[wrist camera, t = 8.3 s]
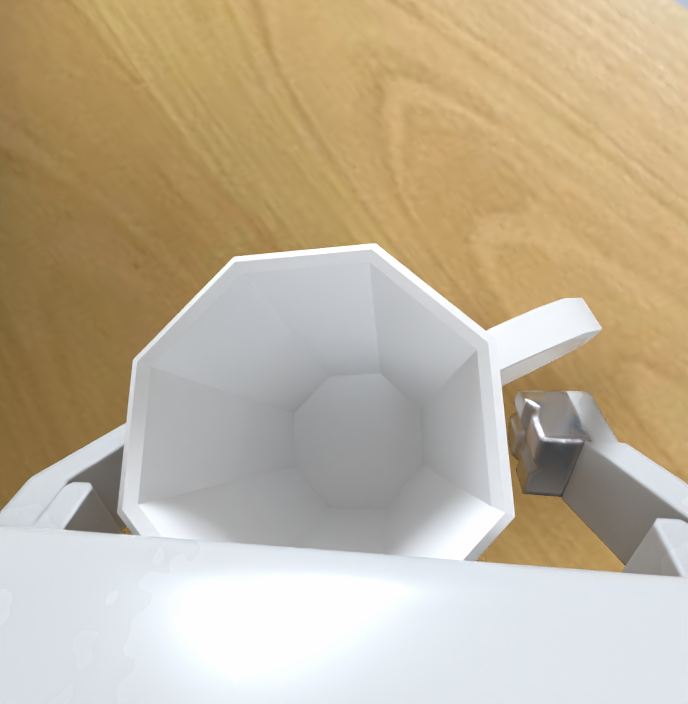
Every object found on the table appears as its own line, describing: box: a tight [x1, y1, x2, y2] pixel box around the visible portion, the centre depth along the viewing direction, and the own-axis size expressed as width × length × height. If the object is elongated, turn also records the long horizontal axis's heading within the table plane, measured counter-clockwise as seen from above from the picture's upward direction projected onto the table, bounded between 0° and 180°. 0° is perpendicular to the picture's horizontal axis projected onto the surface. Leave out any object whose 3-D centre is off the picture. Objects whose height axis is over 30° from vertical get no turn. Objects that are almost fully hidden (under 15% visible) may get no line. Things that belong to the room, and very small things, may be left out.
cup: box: [117, 243, 602, 561], centre depth 11 cm, size 7×10×8 cm
